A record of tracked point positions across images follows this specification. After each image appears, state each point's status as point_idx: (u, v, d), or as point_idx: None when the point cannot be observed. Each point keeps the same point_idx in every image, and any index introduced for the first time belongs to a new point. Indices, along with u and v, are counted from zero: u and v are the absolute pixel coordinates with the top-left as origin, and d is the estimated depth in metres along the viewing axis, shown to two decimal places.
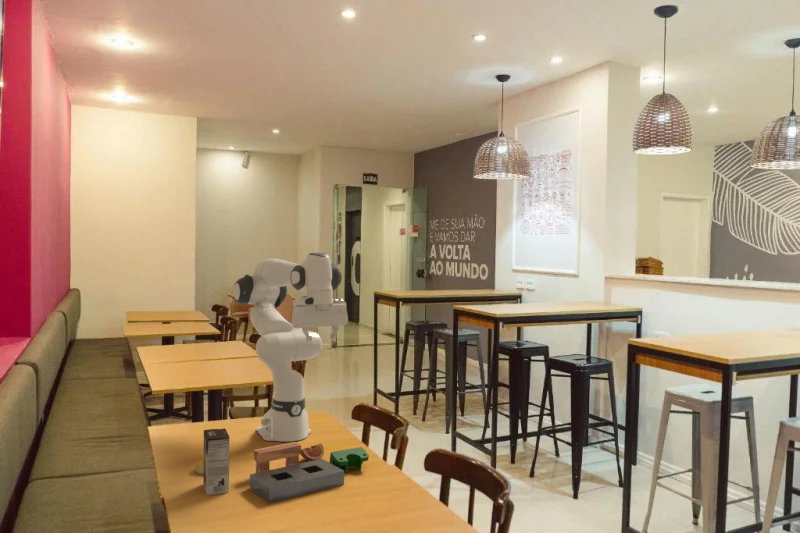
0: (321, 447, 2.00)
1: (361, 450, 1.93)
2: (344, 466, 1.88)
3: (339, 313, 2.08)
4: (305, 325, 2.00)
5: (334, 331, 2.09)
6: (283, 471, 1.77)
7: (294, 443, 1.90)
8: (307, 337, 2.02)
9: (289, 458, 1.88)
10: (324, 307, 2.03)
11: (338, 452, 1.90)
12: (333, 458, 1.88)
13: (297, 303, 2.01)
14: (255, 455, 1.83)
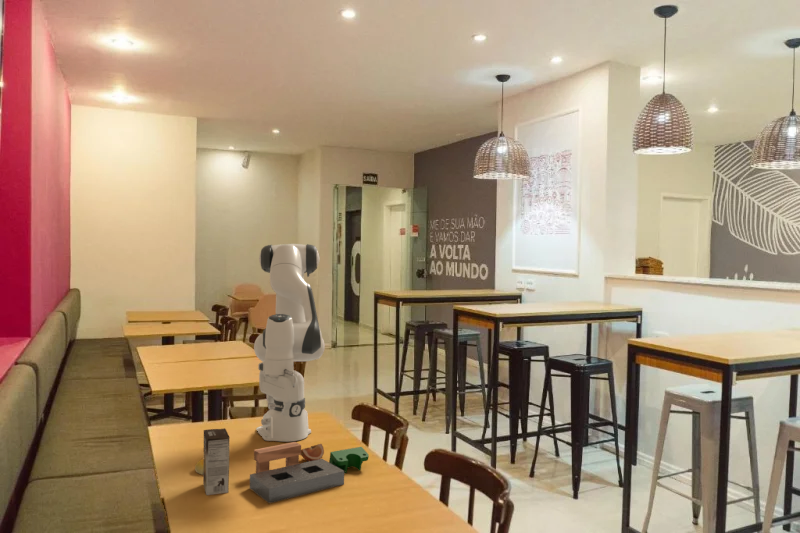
0: (321, 447, 2.00)
1: (361, 450, 1.94)
2: (344, 466, 1.88)
3: (283, 387, 1.80)
4: (263, 391, 1.91)
5: None
6: (283, 471, 1.77)
7: (294, 443, 1.90)
8: None
9: (289, 458, 1.88)
10: (269, 377, 1.84)
11: (338, 452, 1.91)
12: (333, 458, 1.88)
13: None
14: (255, 455, 1.83)
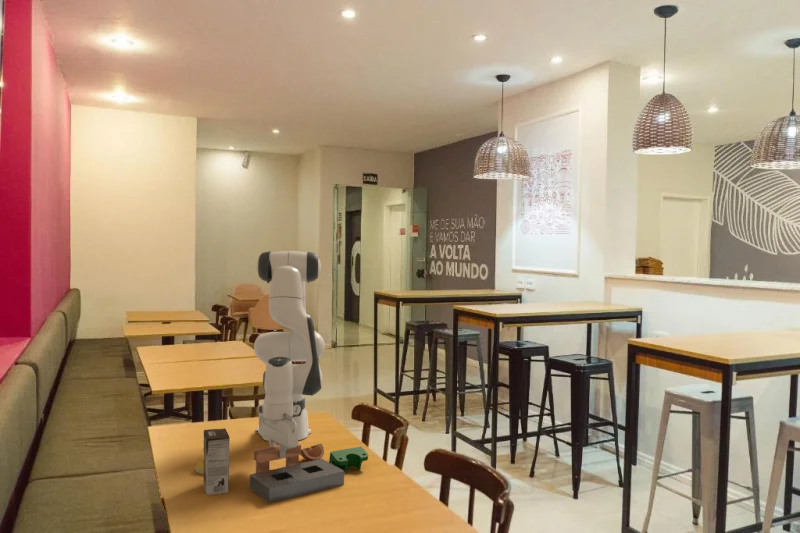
0: (321, 447, 2.00)
1: (361, 450, 1.94)
2: (344, 466, 1.88)
3: (283, 432, 1.80)
4: (263, 433, 1.91)
5: None
6: (283, 471, 1.77)
7: None
8: None
9: (289, 458, 1.88)
10: (268, 420, 1.85)
11: (338, 452, 1.91)
12: (333, 458, 1.89)
13: None
14: (255, 455, 1.83)
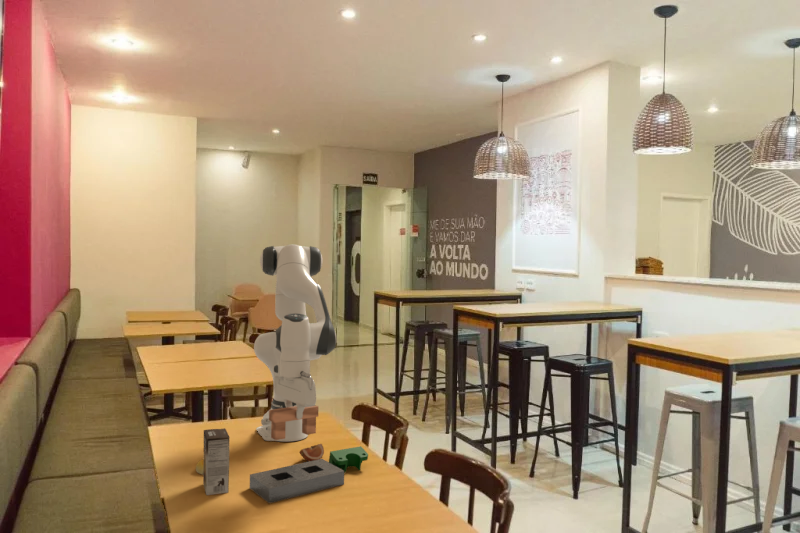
0: (321, 447, 2.00)
1: (361, 450, 1.94)
2: (343, 465, 1.88)
3: (300, 390, 1.71)
4: (278, 394, 1.82)
5: None
6: (283, 471, 1.77)
7: None
8: None
9: (306, 420, 1.79)
10: (284, 379, 1.76)
11: (337, 451, 1.91)
12: (332, 457, 1.89)
13: None
14: (270, 415, 1.74)
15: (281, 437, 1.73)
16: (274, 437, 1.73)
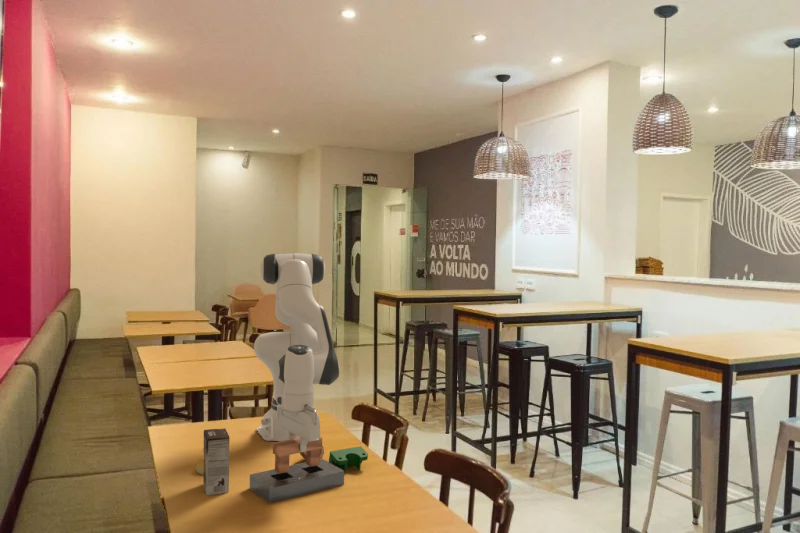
0: None
1: (360, 450, 1.94)
2: (343, 465, 1.89)
3: (304, 424, 1.70)
4: (282, 425, 1.81)
5: None
6: None
7: None
8: None
9: (310, 452, 1.78)
10: (288, 412, 1.74)
11: (337, 451, 1.91)
12: (332, 457, 1.89)
13: None
14: (274, 448, 1.73)
15: (285, 470, 1.72)
16: (278, 470, 1.72)
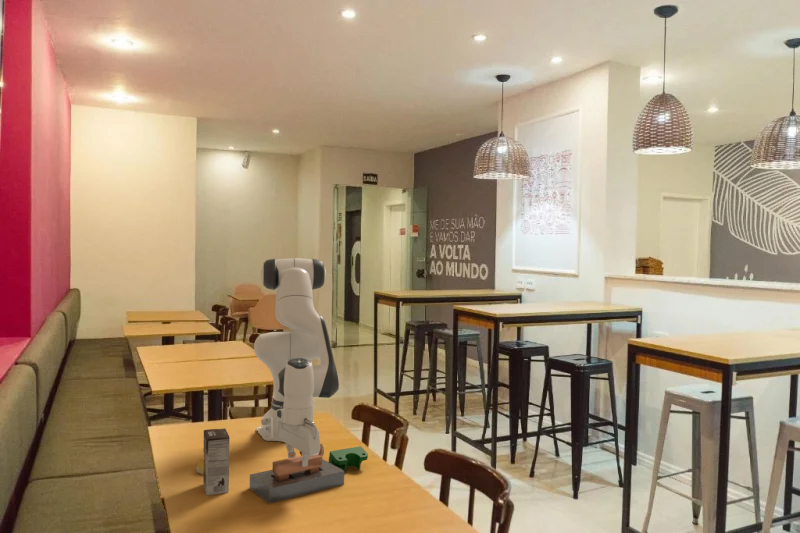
0: (321, 447, 2.00)
1: (360, 450, 1.94)
2: (343, 465, 1.89)
3: (304, 439, 1.70)
4: (281, 439, 1.81)
5: None
6: None
7: (314, 455, 1.80)
8: None
9: (309, 470, 1.78)
10: (288, 426, 1.74)
11: (337, 451, 1.91)
12: (332, 457, 1.89)
13: None
14: (274, 467, 1.73)
15: None
16: None
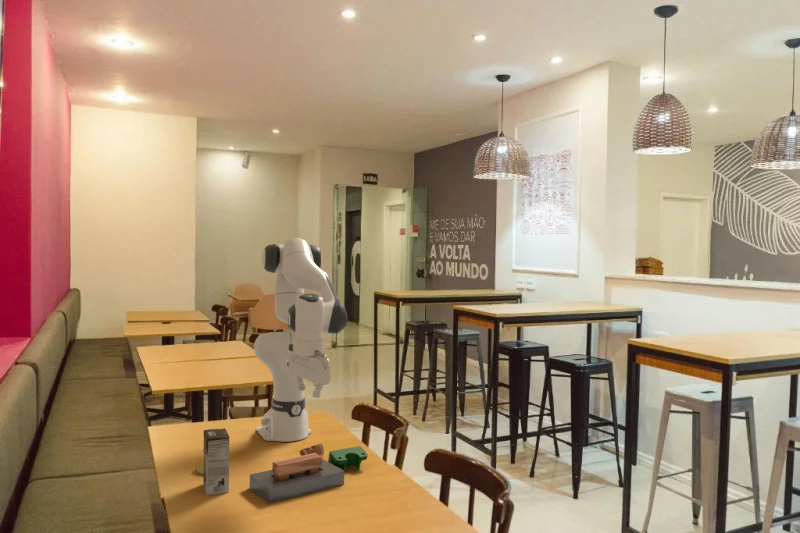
0: (321, 447, 2.00)
1: (360, 449, 1.94)
2: (343, 465, 1.89)
3: (315, 369, 1.75)
4: (293, 372, 1.86)
5: None
6: None
7: (314, 455, 1.80)
8: None
9: (309, 470, 1.78)
10: (299, 358, 1.80)
11: (337, 451, 1.91)
12: (332, 457, 1.89)
13: None
14: (274, 467, 1.73)
15: None
16: None
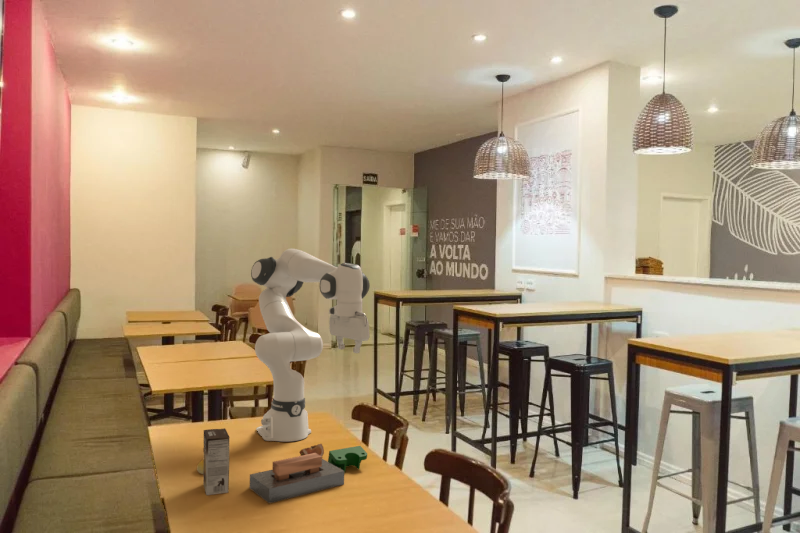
0: (321, 447, 2.00)
1: (360, 449, 1.95)
2: (343, 465, 1.89)
3: (355, 327, 2.00)
4: (334, 333, 2.11)
5: None
6: None
7: (314, 455, 1.80)
8: None
9: (309, 470, 1.78)
10: (341, 319, 2.04)
11: (337, 451, 1.92)
12: (332, 457, 1.89)
13: None
14: (274, 467, 1.73)
15: None
16: None
